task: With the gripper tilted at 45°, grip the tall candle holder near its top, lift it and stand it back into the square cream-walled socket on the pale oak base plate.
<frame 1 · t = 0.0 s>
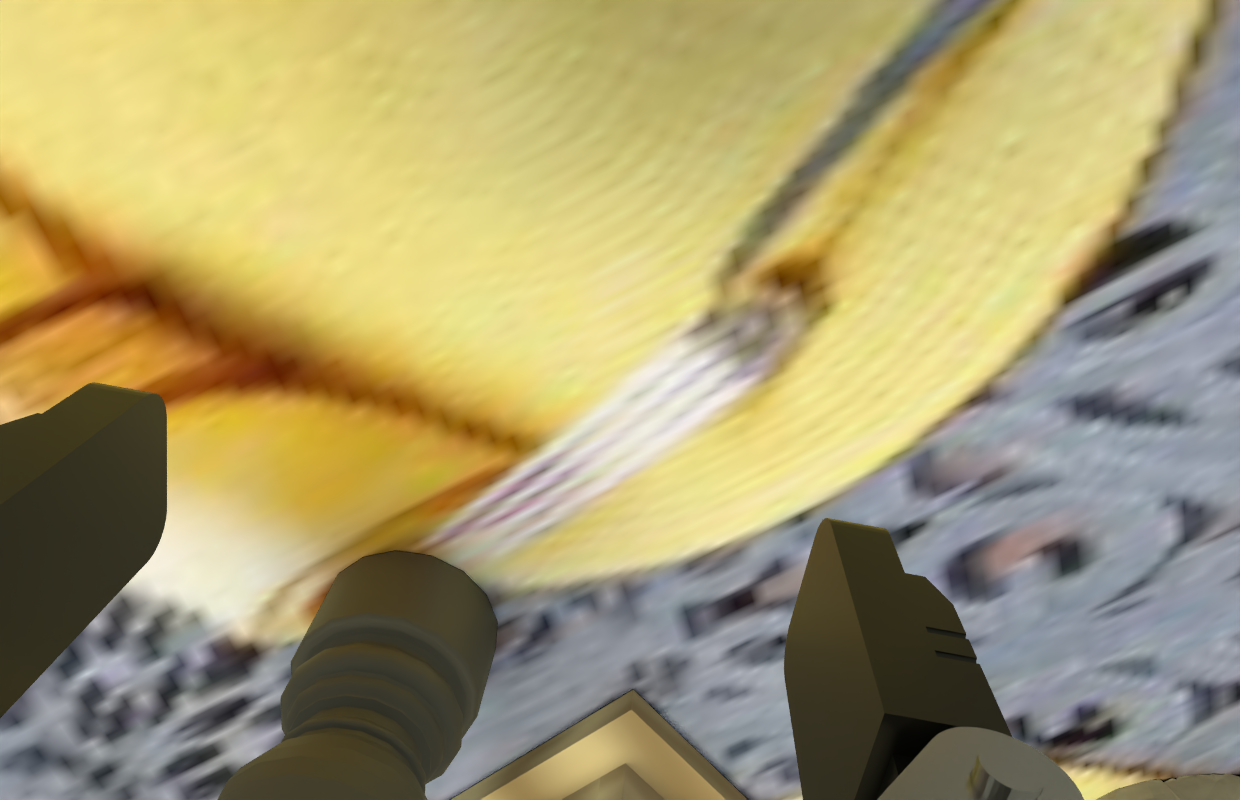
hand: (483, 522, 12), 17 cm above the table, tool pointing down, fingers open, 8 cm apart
candle holder: (412, 620, 35), on the table
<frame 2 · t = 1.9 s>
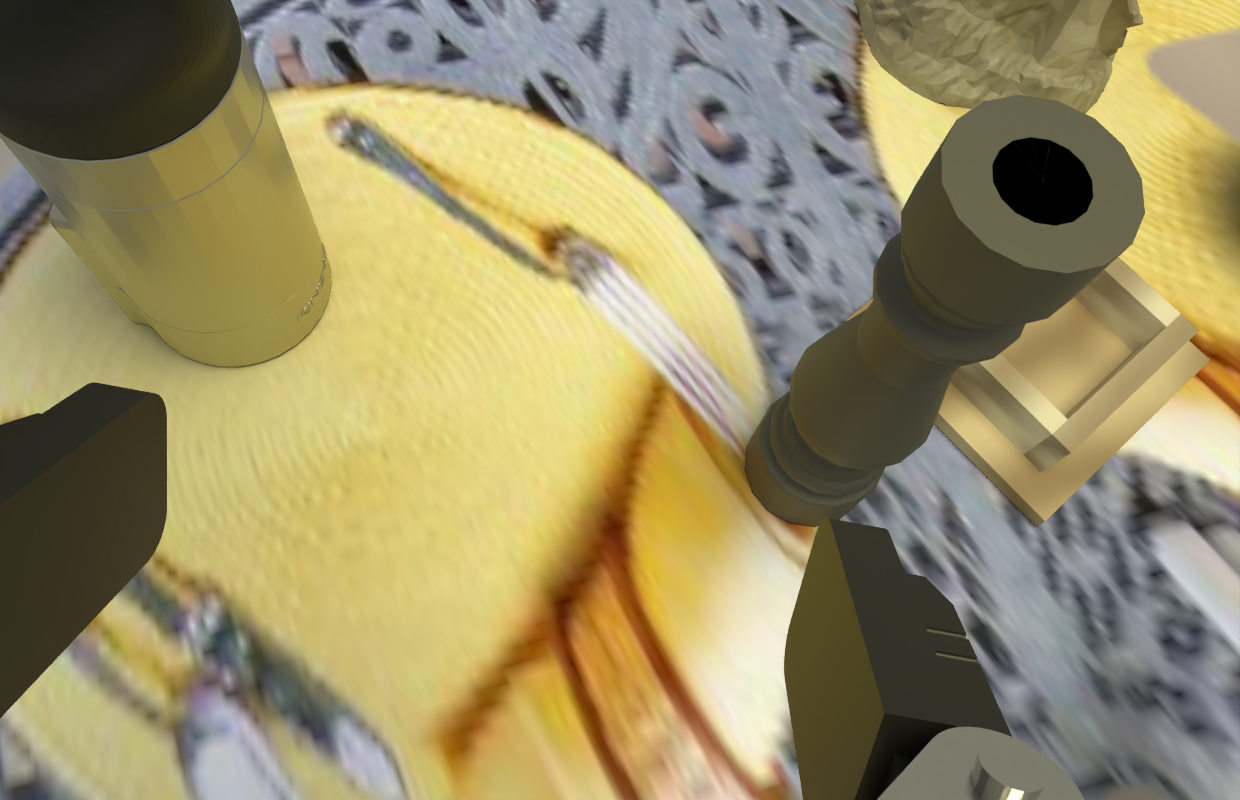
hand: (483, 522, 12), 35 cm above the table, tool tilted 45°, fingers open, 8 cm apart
ceramic cottage: (977, 17, 62), on the table
candle holder: (804, 468, 50), on the table
socket base: (1021, 348, 53), on the table
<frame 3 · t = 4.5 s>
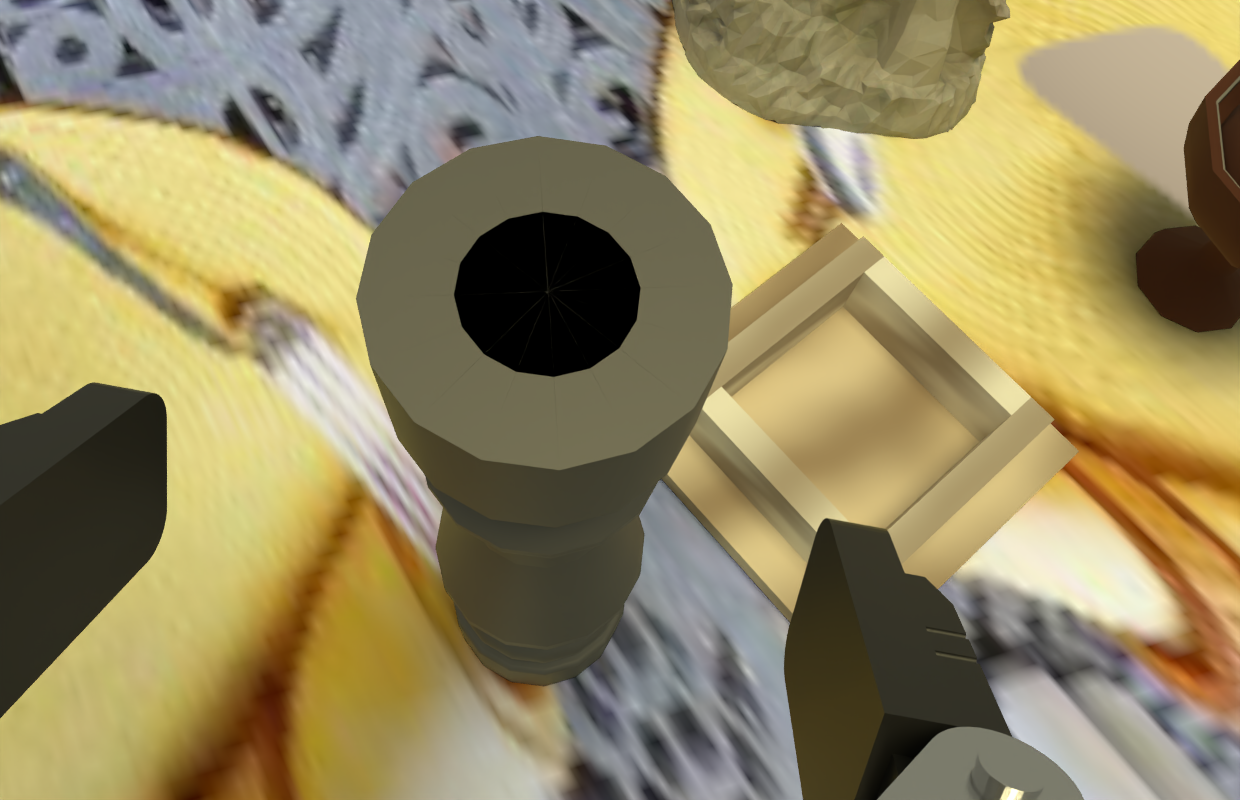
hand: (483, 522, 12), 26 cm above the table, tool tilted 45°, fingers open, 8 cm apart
ceramic cottage: (823, 13, 51), on the table
candle holder: (539, 603, 38), on the table
ice cream bowl: (1189, 281, 46), on the table
socket base: (837, 436, 42), on the table
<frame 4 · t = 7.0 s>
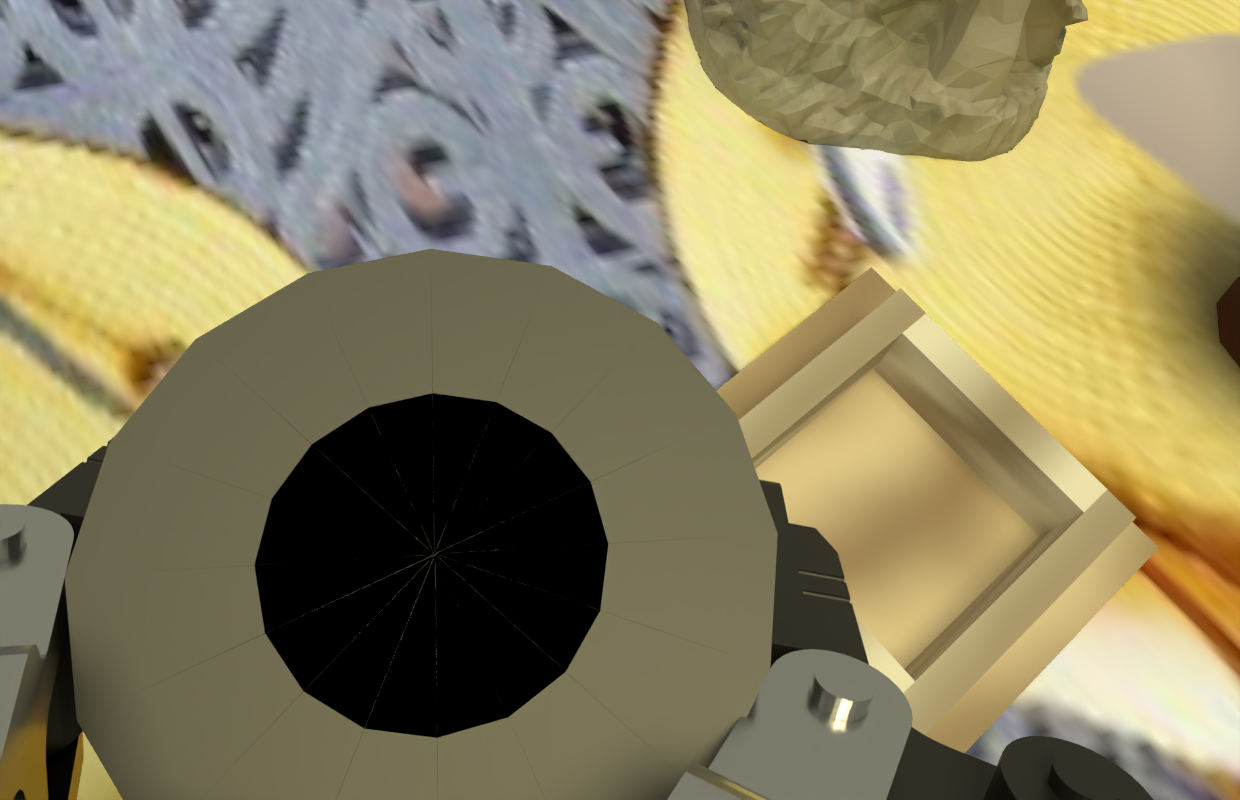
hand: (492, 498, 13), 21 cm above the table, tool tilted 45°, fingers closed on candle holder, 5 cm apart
ceramic cottage: (859, 14, 44), on the table
candle holder: (505, 740, 31), on the table, touching gripper
socket base: (868, 527, 35), on the table
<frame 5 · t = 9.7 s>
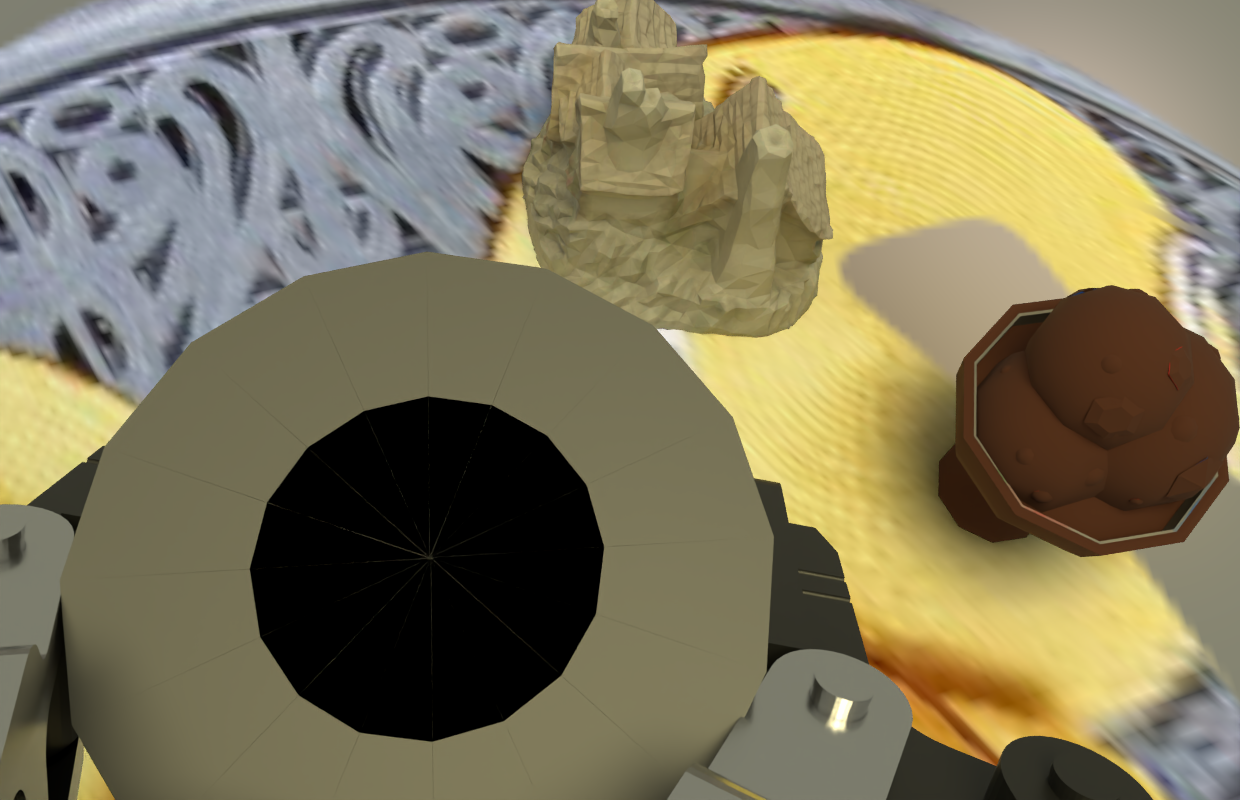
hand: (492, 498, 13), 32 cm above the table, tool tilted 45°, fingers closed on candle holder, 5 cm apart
ceramic cottage: (674, 205, 53), on the table
candle holder: (505, 741, 31), point 11 cm above the table, touching gripper
ice cream bowl: (990, 488, 48), on the table
when the fingers open (23 cm above the table, at t = 12.6 s): candle holder drops 1 cm, resting on socket base.
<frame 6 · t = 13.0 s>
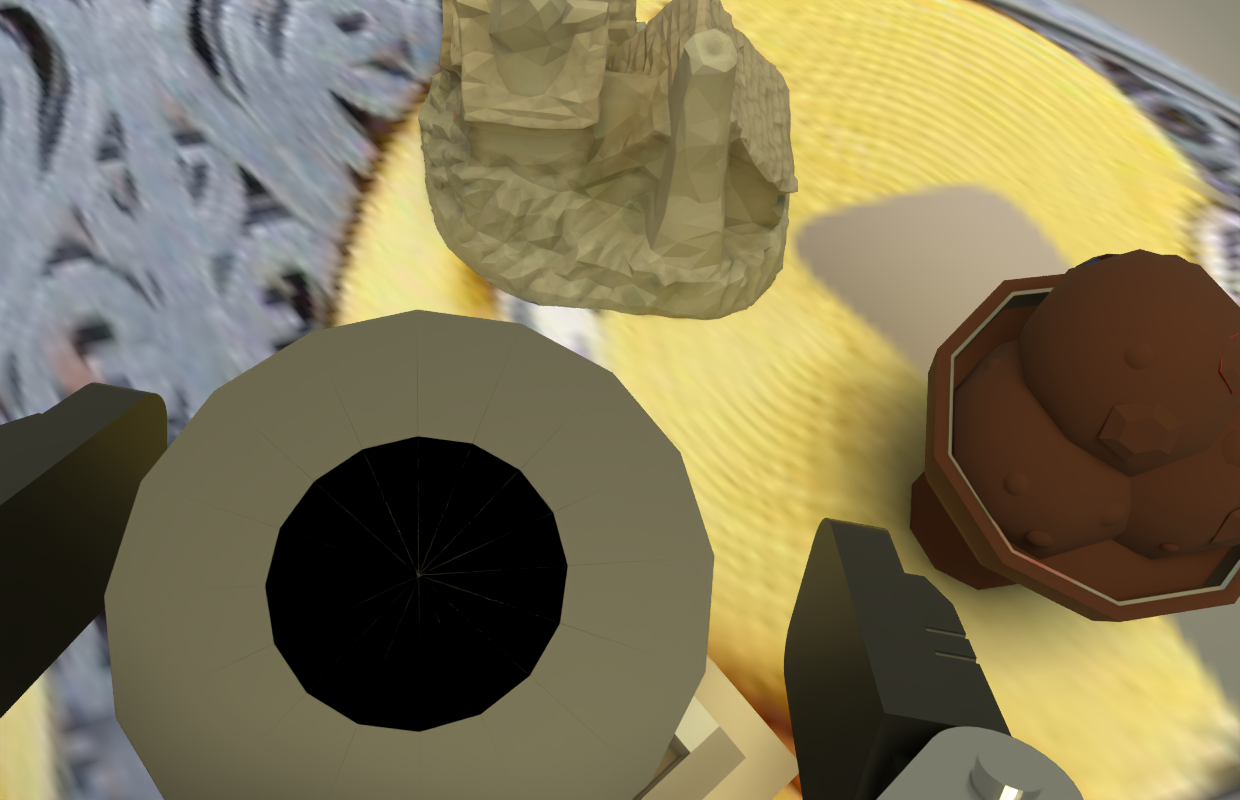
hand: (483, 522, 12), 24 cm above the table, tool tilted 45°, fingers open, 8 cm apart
ceramic cottage: (609, 160, 43), on the table
candle holder: (502, 749, 33), point 1 cm above the table, touching socket base
ice cream bowl: (976, 519, 38), on the table
socket base: (506, 744, 33), on the table
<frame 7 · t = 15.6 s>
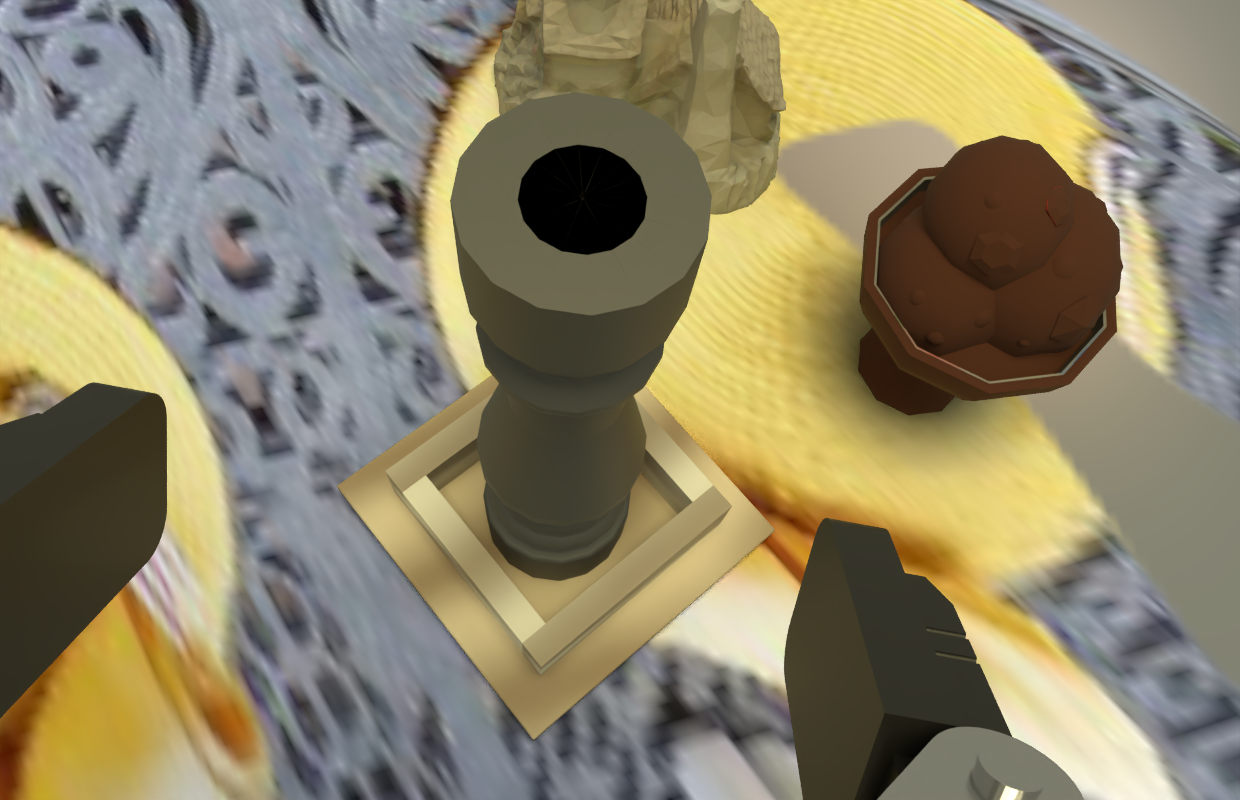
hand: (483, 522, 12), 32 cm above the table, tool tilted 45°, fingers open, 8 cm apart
ceramic cottage: (639, 95, 55), on the table
candle holder: (555, 513, 45), point 1 cm above the table, touching socket base
ice cream bowl: (909, 366, 50), on the table
socket base: (557, 514, 46), on the table
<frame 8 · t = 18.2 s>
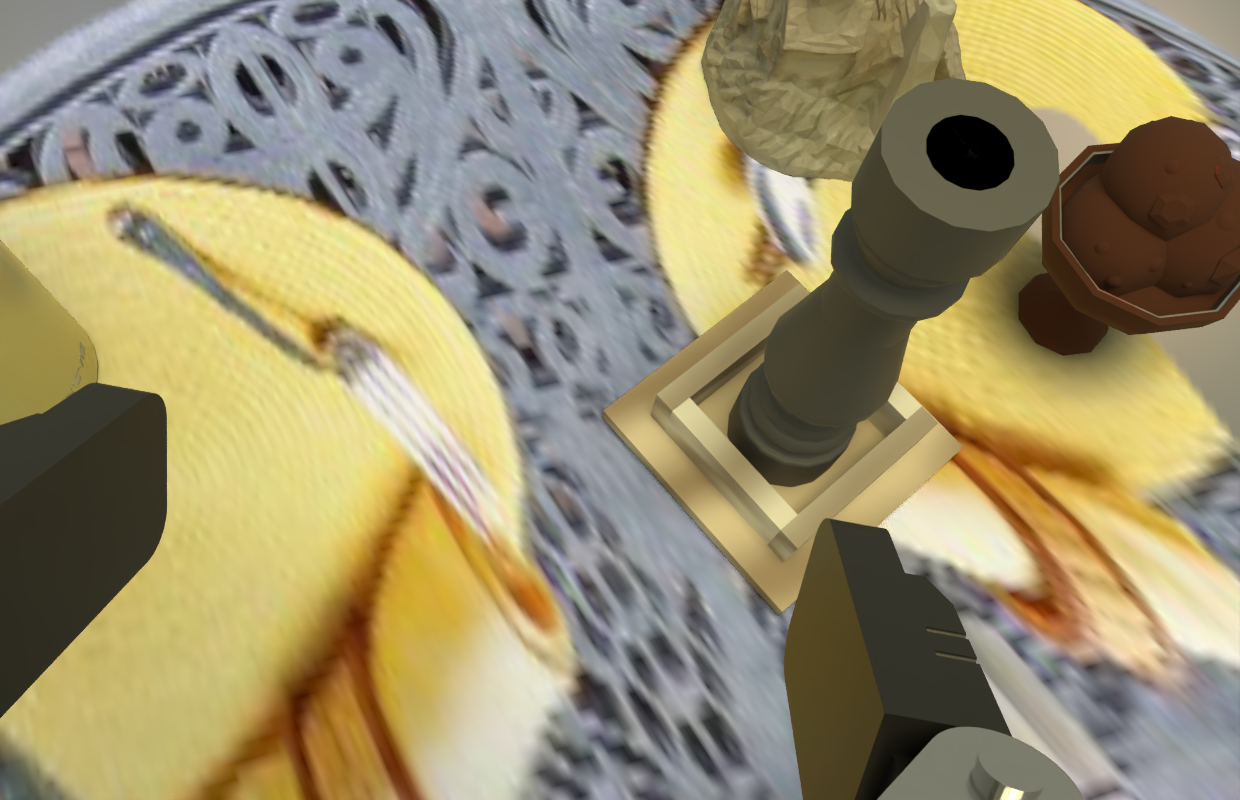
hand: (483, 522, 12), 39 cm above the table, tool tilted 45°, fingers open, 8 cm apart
ceramic cottage: (824, 85, 65), on the table
candle holder: (782, 433, 54), point 1 cm above the table, touching socket base
ice cream bowl: (1060, 315, 59), on the table
socket base: (780, 435, 55), on the table
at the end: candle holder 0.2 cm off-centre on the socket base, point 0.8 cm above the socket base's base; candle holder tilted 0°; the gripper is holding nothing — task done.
